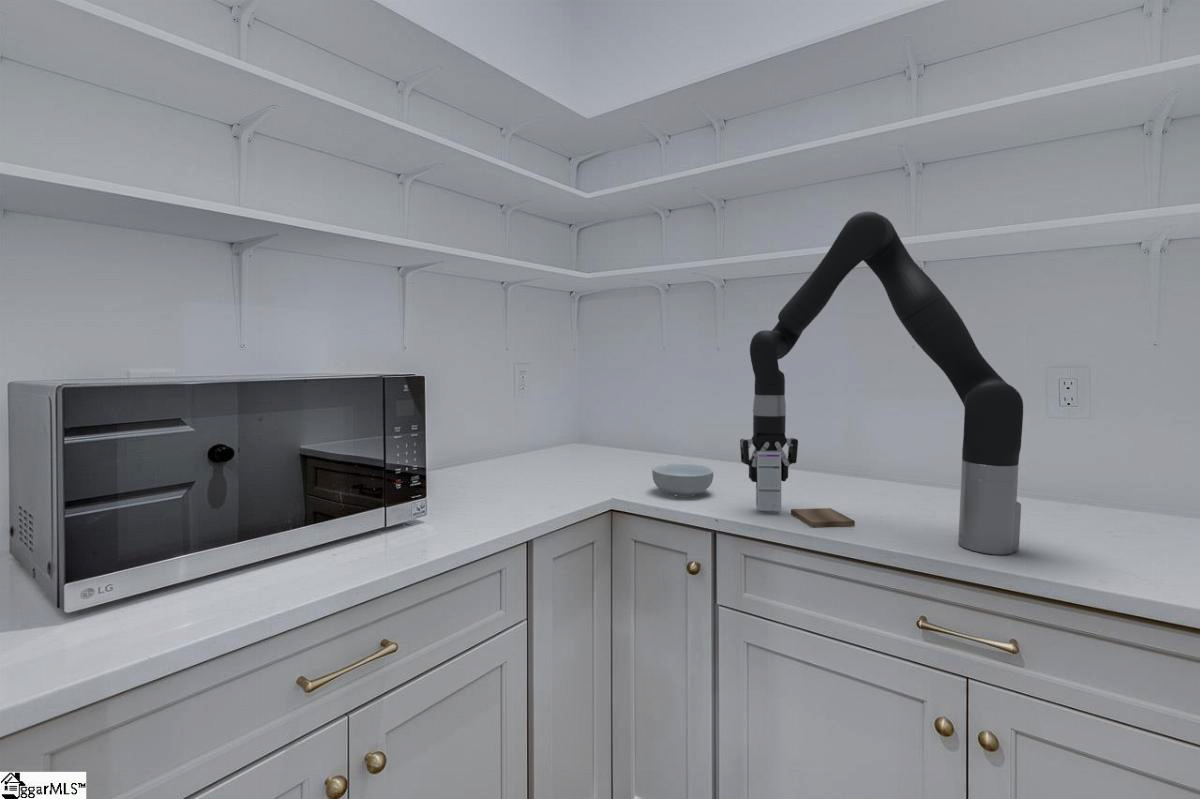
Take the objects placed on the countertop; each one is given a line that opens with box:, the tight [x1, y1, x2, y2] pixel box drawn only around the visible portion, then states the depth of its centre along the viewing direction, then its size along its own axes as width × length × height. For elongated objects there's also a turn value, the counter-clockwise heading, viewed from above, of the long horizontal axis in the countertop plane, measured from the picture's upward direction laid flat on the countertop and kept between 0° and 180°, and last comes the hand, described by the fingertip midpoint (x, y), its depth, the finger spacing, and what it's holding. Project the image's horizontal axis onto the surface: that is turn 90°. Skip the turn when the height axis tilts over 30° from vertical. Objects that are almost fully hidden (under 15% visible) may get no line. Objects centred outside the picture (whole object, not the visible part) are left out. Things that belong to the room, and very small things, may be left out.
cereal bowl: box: [651, 462, 714, 497], centre depth 160 cm, size 17×17×7 cm
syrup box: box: [755, 450, 782, 512], centre depth 140 cm, size 6×6×14 cm
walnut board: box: [790, 507, 856, 528], centre depth 134 cm, size 10×11×1 cm
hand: (768, 480), depth 140 cm, fingers closed on syrup box, 6 cm apart
